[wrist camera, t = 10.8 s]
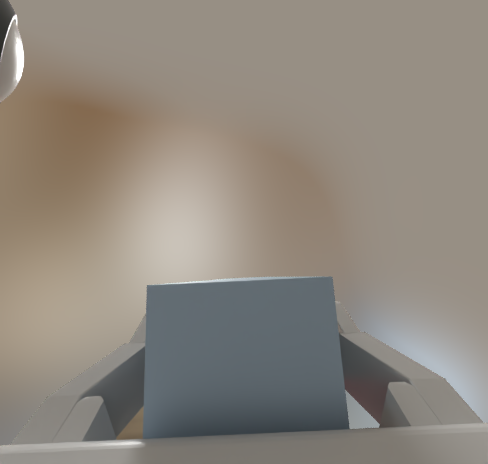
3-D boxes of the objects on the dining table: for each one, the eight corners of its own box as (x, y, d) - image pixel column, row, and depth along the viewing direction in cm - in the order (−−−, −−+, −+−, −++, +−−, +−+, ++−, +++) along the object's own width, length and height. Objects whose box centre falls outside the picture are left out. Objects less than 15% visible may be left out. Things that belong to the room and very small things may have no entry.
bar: (357, 496, 4) (332, 276, 5) (140, 506, 4) (146, 285, 5) (265, 314, 26) (263, 277, 27) (229, 316, 26) (227, 278, 27)
